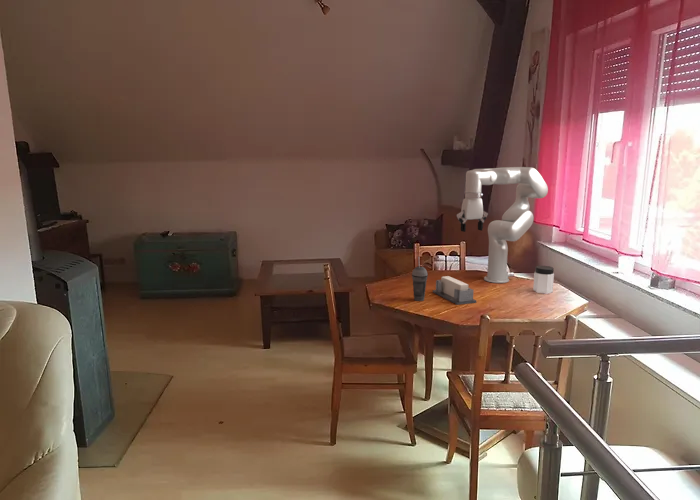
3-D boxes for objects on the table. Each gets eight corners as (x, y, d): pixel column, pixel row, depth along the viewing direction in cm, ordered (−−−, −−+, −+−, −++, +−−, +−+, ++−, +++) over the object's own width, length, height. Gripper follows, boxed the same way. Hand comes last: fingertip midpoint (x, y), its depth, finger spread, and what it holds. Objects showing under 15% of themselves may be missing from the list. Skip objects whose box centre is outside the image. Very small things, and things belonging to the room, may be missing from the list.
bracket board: (450, 290, 257) (451, 278, 256) (476, 302, 237) (476, 289, 236) (432, 292, 254) (432, 280, 252) (457, 304, 233) (457, 291, 232)
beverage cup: (417, 302, 236) (418, 259, 233) (407, 298, 243) (408, 256, 239) (430, 300, 240) (431, 257, 236) (421, 296, 246) (422, 254, 242)
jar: (555, 294, 251) (556, 269, 249) (538, 294, 251) (539, 269, 249) (547, 289, 260) (549, 265, 258) (531, 289, 260) (532, 265, 257)
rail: (448, 290, 254) (448, 276, 252) (467, 299, 238) (468, 284, 237) (440, 290, 252) (441, 276, 251) (460, 300, 237) (460, 285, 235)
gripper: (483, 194, 263) (482, 228, 266) (453, 196, 257) (452, 230, 260) (492, 196, 256) (491, 230, 259) (461, 197, 250) (460, 233, 253)
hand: (471, 230), depth 260 cm, fingers open, 9 cm apart
